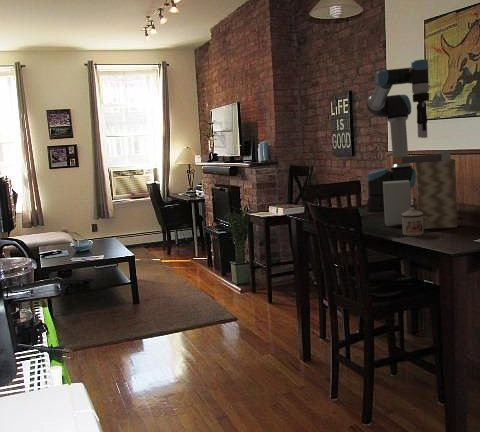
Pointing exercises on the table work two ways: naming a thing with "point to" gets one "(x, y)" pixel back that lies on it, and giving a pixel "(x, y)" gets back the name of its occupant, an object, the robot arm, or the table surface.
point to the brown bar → (423, 158)
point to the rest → (396, 201)
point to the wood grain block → (437, 193)
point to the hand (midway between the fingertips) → (422, 137)
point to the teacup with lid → (413, 222)
